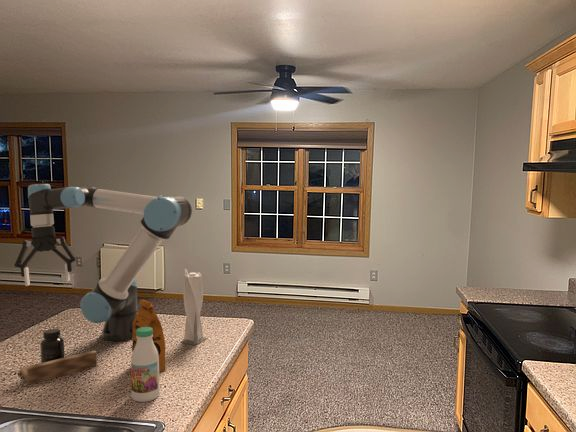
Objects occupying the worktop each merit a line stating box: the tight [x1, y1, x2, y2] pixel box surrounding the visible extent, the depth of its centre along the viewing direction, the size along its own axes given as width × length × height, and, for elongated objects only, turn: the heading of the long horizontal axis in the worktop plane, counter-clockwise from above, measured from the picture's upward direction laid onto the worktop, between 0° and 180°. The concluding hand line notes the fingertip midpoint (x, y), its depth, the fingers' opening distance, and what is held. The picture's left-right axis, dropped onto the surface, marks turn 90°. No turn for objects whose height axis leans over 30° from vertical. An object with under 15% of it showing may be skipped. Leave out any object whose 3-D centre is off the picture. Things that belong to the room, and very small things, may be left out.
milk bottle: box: [130, 327, 160, 403], centre depth 127 cm, size 8×8×20 cm
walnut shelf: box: [19, 350, 98, 385], centre depth 145 cm, size 20×12×5 cm, turn 131°
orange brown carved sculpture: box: [131, 299, 167, 373], centre depth 147 cm, size 10×12×22 cm
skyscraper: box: [180, 268, 207, 346], centre depth 172 cm, size 8×8×28 cm
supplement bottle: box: [39, 328, 66, 363], centre depth 144 cm, size 7×7×12 cm
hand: (48, 283), depth 164 cm, fingers open, 13 cm apart
